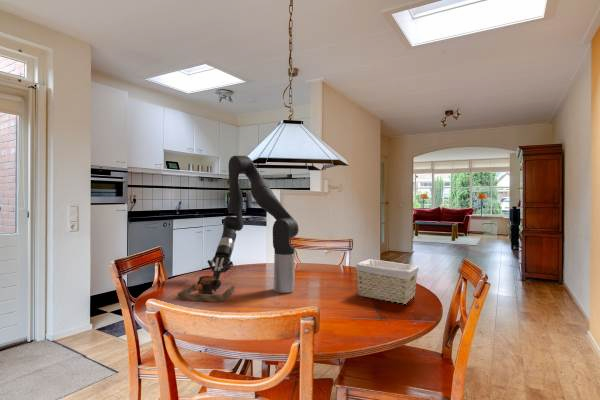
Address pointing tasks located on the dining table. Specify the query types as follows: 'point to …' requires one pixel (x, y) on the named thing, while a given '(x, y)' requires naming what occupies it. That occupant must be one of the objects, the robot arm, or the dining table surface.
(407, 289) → the storage basket
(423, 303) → the dining table surface
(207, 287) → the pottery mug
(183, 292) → the wooden corral
